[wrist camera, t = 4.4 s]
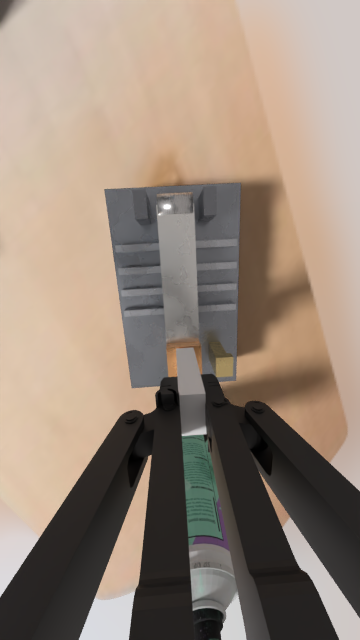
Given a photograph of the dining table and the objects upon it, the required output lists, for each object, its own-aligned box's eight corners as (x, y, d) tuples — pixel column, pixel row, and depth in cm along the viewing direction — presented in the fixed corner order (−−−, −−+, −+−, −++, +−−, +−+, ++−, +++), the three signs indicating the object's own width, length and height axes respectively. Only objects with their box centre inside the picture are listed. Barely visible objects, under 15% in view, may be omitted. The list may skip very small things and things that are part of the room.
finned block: (118, 203, 23) (88, 172, 15) (226, 198, 23) (257, 164, 15) (138, 366, 29) (124, 411, 20) (225, 360, 29) (247, 402, 21)
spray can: (164, 425, 32) (155, 680, 13) (168, 394, 30) (164, 630, 11) (200, 428, 32) (244, 678, 13) (205, 397, 31) (264, 629, 12)
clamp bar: (156, 198, 18) (153, 186, 15) (191, 196, 18) (195, 183, 15) (170, 385, 22) (170, 400, 19) (199, 383, 22) (203, 397, 19)
